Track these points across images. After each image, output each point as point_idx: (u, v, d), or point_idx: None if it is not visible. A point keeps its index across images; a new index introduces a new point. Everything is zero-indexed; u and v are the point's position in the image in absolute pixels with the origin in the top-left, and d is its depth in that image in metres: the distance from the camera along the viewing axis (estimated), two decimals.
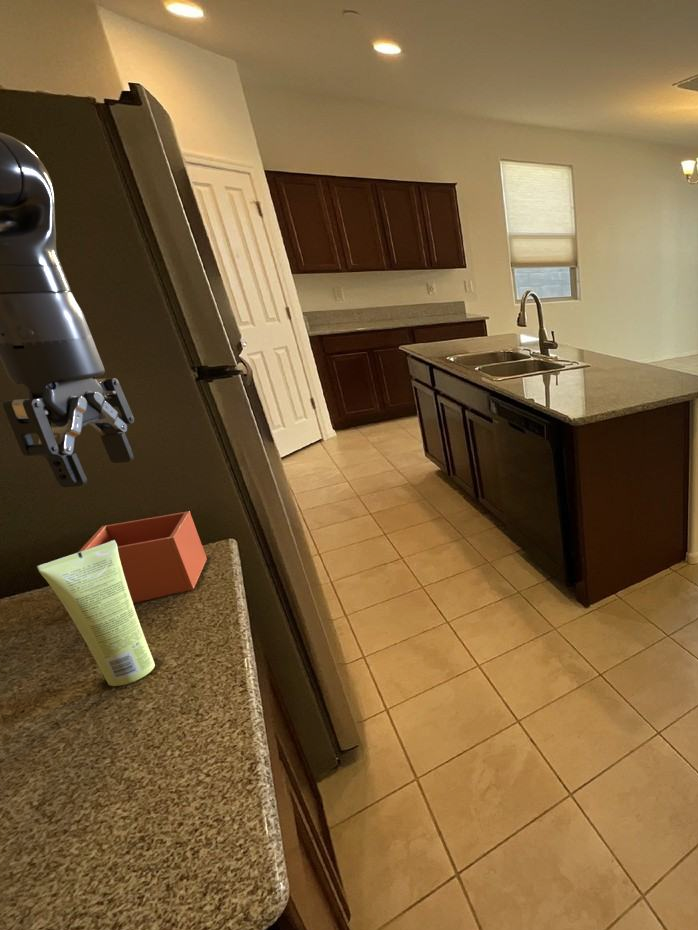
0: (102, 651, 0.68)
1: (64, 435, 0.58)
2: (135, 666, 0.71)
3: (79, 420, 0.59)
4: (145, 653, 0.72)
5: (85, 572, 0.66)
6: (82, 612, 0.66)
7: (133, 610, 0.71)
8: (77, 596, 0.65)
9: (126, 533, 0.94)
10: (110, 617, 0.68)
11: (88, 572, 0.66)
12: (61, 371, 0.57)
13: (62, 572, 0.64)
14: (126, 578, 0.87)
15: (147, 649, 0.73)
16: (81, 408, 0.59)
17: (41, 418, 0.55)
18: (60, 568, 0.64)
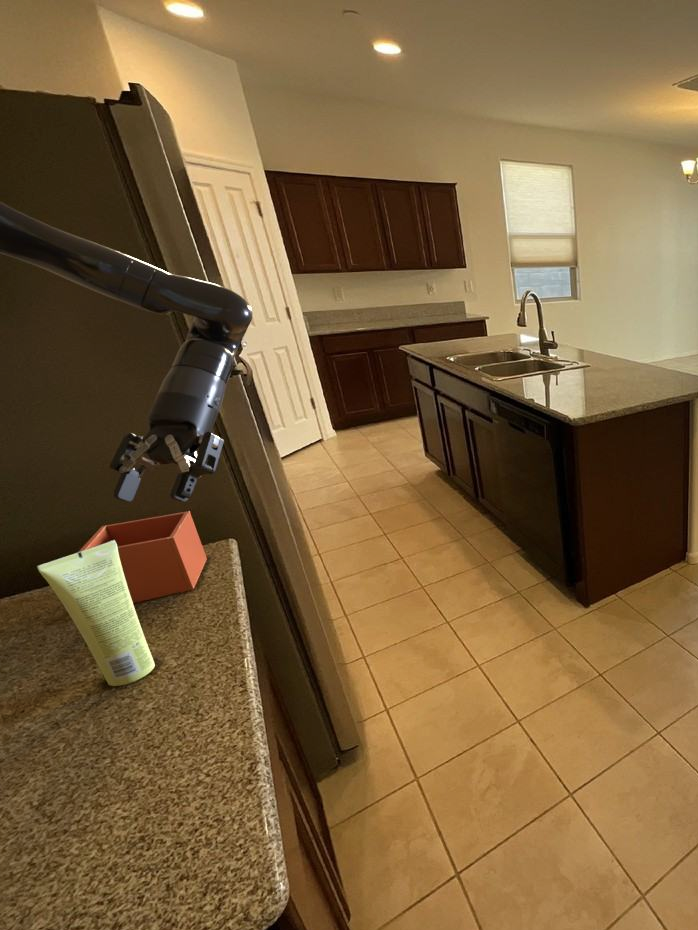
0: (102, 651, 0.68)
1: None
2: (135, 666, 0.71)
3: None
4: (145, 653, 0.72)
5: (85, 572, 0.66)
6: (82, 612, 0.66)
7: (133, 610, 0.71)
8: (77, 596, 0.65)
9: (126, 533, 0.94)
10: (110, 617, 0.68)
11: (88, 572, 0.66)
12: (211, 429, 0.82)
13: (62, 572, 0.64)
14: (126, 578, 0.87)
15: (147, 649, 0.73)
16: None
17: None
18: (60, 568, 0.64)
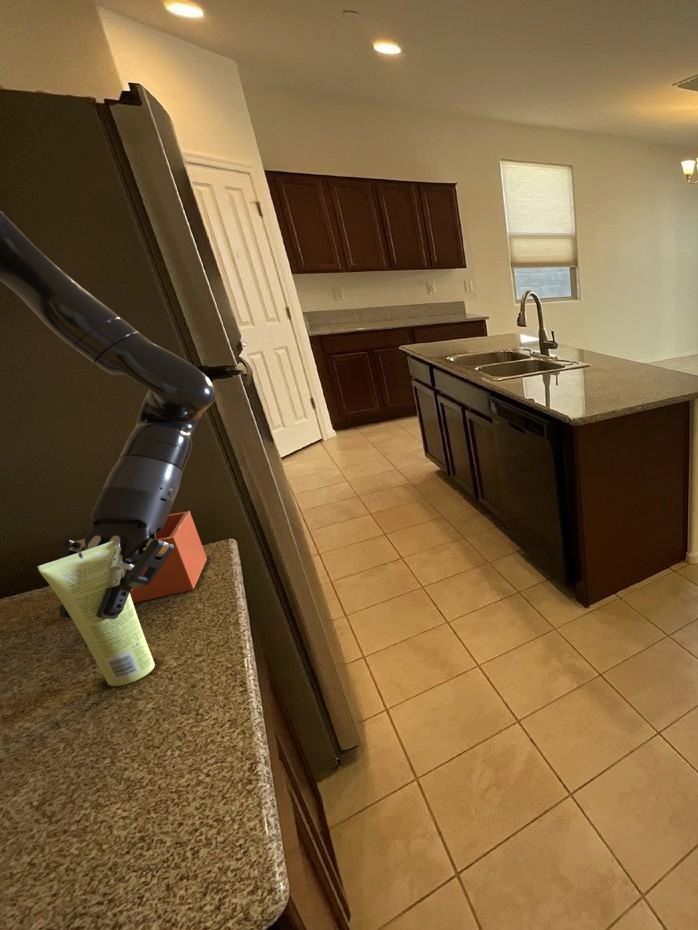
0: (102, 651, 0.68)
1: None
2: (135, 666, 0.71)
3: None
4: (145, 654, 0.72)
5: (85, 572, 0.66)
6: (82, 612, 0.66)
7: (133, 610, 0.71)
8: (77, 597, 0.65)
9: None
10: None
11: (89, 572, 0.66)
12: (164, 523, 0.74)
13: (62, 572, 0.64)
14: None
15: (147, 649, 0.73)
16: None
17: None
18: (60, 568, 0.64)
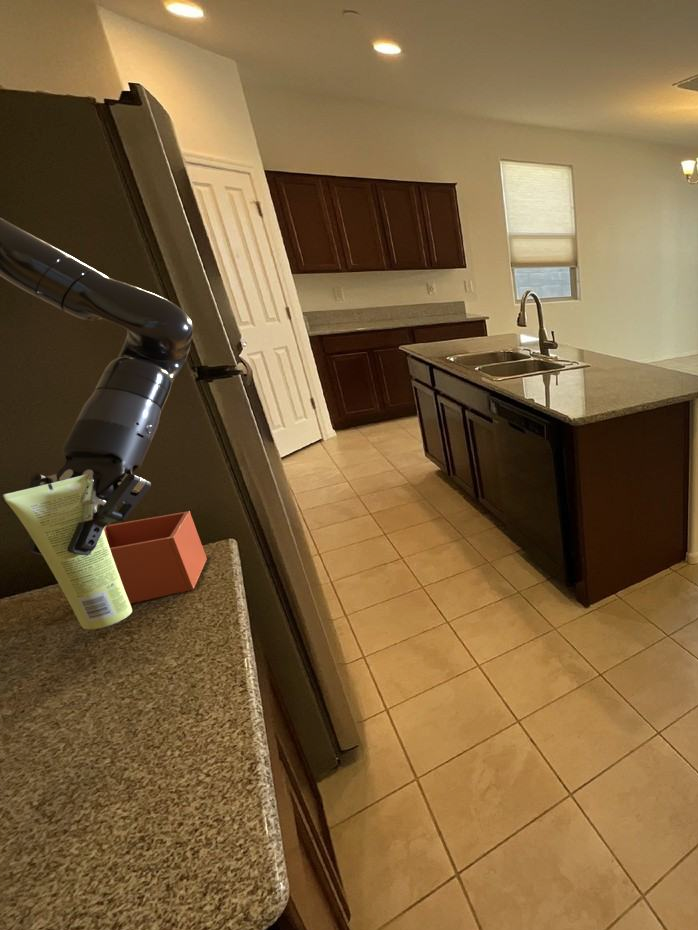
0: (74, 589, 0.65)
1: None
2: (110, 608, 0.67)
3: None
4: (121, 596, 0.69)
5: (56, 505, 0.63)
6: (52, 547, 0.63)
7: (108, 549, 0.67)
8: (47, 529, 0.62)
9: (126, 533, 0.94)
10: None
11: (59, 505, 0.63)
12: (142, 461, 0.71)
13: (30, 503, 0.61)
14: (126, 578, 0.87)
15: (123, 592, 0.69)
16: None
17: None
18: (28, 499, 0.61)
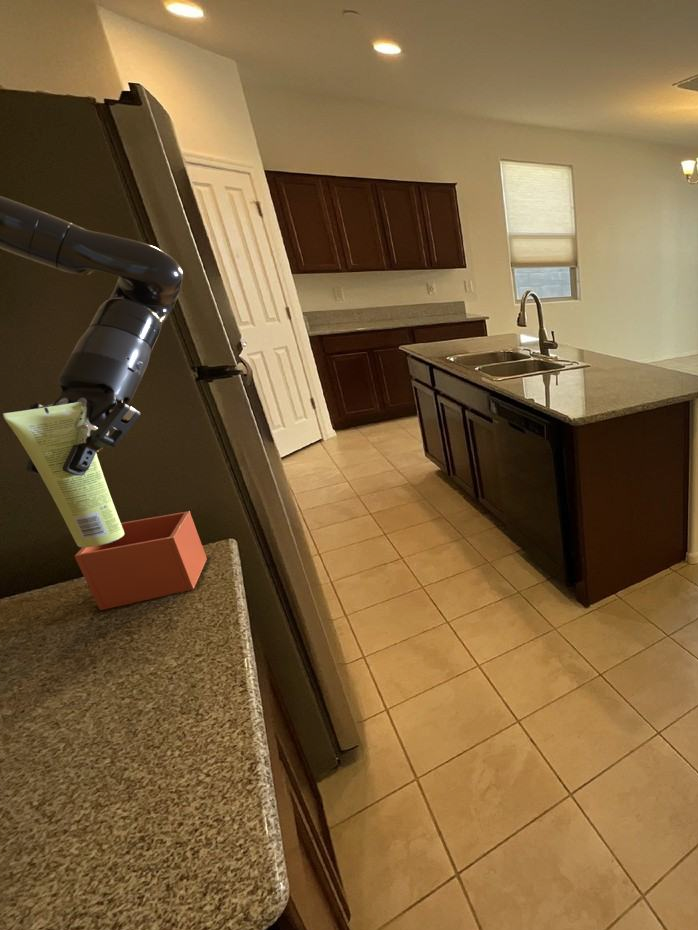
0: (69, 508, 0.70)
1: None
2: (103, 528, 0.73)
3: None
4: (114, 518, 0.74)
5: (51, 427, 0.68)
6: (49, 466, 0.68)
7: (101, 473, 0.73)
8: (44, 449, 0.67)
9: (126, 533, 0.94)
10: None
11: (55, 428, 0.68)
12: (132, 394, 0.76)
13: (28, 423, 0.66)
14: (126, 578, 0.87)
15: (116, 515, 0.74)
16: None
17: None
18: (26, 419, 0.66)
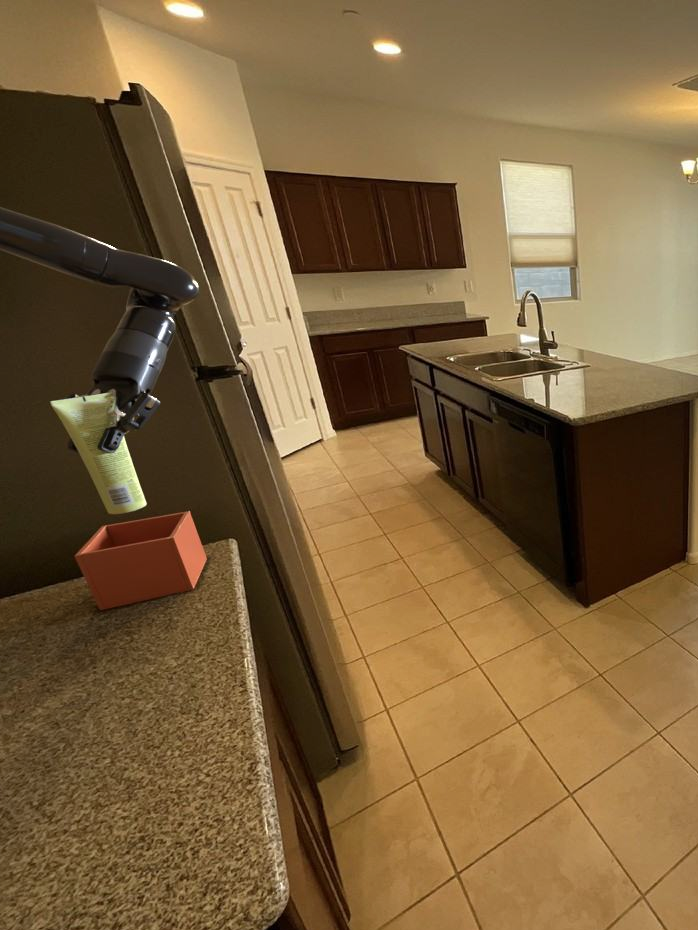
0: (102, 480, 0.84)
1: None
2: (129, 497, 0.87)
3: None
4: (138, 490, 0.88)
5: (88, 413, 0.82)
6: (86, 445, 0.82)
7: (127, 452, 0.87)
8: (82, 431, 0.81)
9: (126, 533, 0.94)
10: (108, 453, 0.84)
11: (91, 413, 0.82)
12: (153, 387, 0.90)
13: (70, 409, 0.80)
14: (126, 578, 0.87)
15: (139, 487, 0.89)
16: None
17: None
18: (68, 406, 0.80)
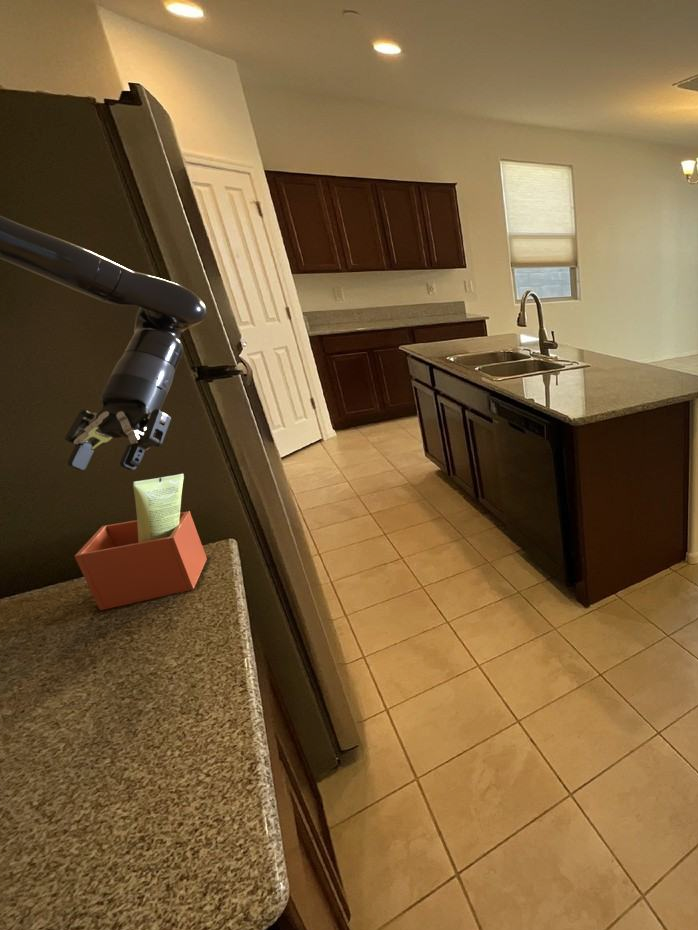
0: None
1: None
2: None
3: None
4: None
5: (160, 493, 0.89)
6: (149, 521, 0.88)
7: None
8: (151, 509, 0.88)
9: (126, 533, 0.94)
10: (165, 530, 0.90)
11: (162, 493, 0.89)
12: (160, 408, 0.92)
13: (147, 490, 0.87)
14: (126, 578, 0.87)
15: None
16: None
17: None
18: (146, 486, 0.87)
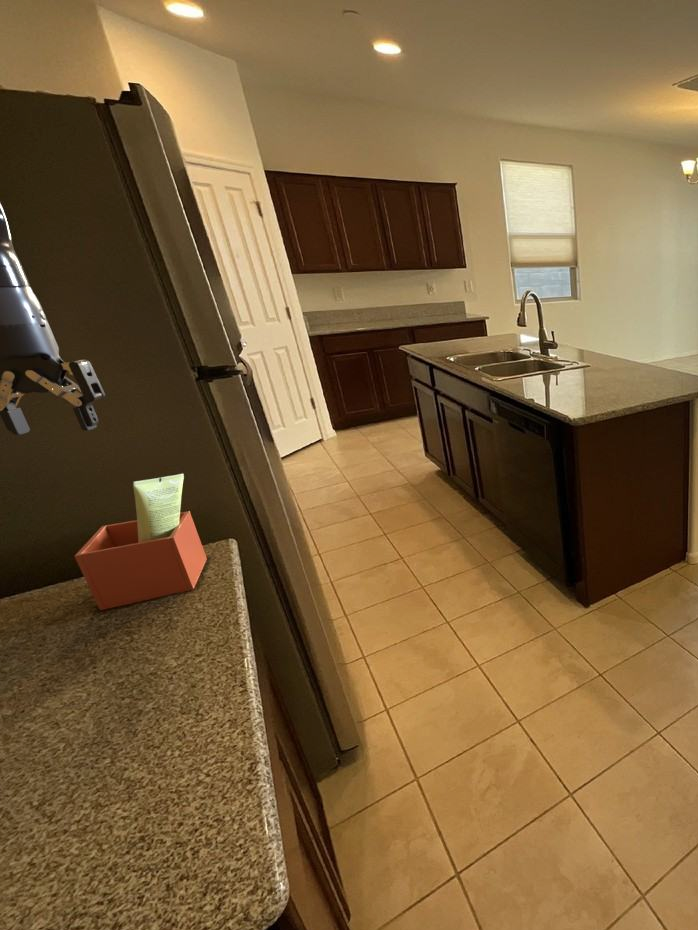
0: None
1: (80, 389, 0.79)
2: None
3: None
4: None
5: (160, 493, 0.89)
6: (149, 521, 0.88)
7: None
8: (151, 509, 0.88)
9: (126, 533, 0.94)
10: (165, 530, 0.90)
11: (162, 493, 0.89)
12: (56, 343, 0.78)
13: (147, 490, 0.87)
14: (126, 578, 0.87)
15: None
16: None
17: None
18: (146, 486, 0.87)
